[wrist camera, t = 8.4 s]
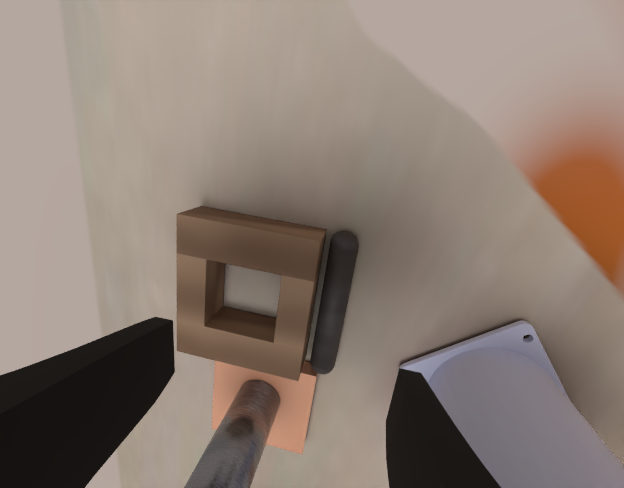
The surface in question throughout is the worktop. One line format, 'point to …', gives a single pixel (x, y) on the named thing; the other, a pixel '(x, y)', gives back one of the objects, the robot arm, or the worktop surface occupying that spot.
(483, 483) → the robot arm
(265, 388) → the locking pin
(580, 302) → the worktop surface
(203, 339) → the clamp block
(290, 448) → the tile pad
